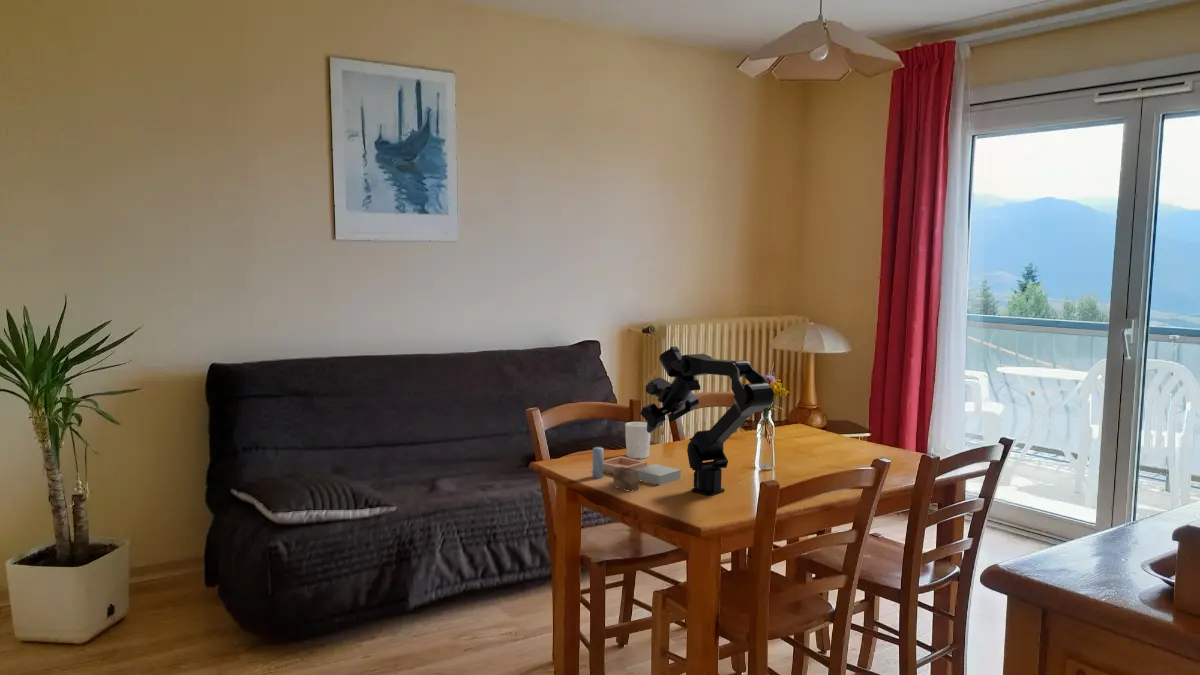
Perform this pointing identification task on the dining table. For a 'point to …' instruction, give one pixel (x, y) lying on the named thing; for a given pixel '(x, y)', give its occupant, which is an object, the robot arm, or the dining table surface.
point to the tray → (622, 464)
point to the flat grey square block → (658, 474)
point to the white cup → (637, 440)
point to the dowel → (598, 462)
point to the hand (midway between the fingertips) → (659, 426)
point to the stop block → (626, 478)
